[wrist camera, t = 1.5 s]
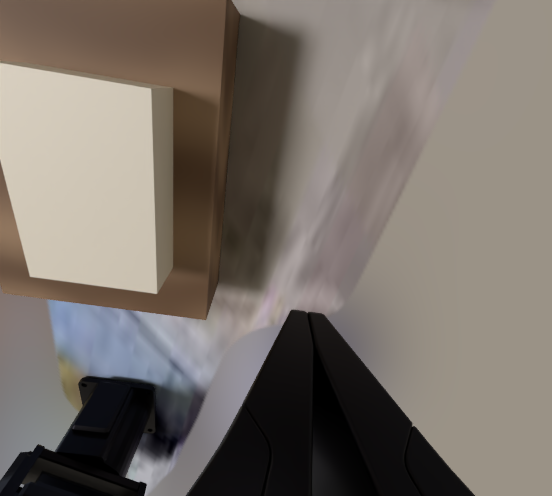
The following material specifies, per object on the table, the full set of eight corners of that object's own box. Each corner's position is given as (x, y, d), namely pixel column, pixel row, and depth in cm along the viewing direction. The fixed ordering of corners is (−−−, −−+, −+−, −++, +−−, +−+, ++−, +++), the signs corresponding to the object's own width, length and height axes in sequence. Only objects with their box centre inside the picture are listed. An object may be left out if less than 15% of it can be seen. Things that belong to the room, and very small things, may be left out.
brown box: (218, 283, 23) (205, 320, 19) (47, 259, 22) (3, 293, 18) (239, 14, 15) (226, -7, 12) (-16, -34, 15) (-111, -71, 11)
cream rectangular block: (173, 267, 17) (157, 294, 15) (62, 251, 17) (29, 276, 15) (173, 87, 13) (151, 88, 11) (27, 62, 13) (-26, 58, 11)
